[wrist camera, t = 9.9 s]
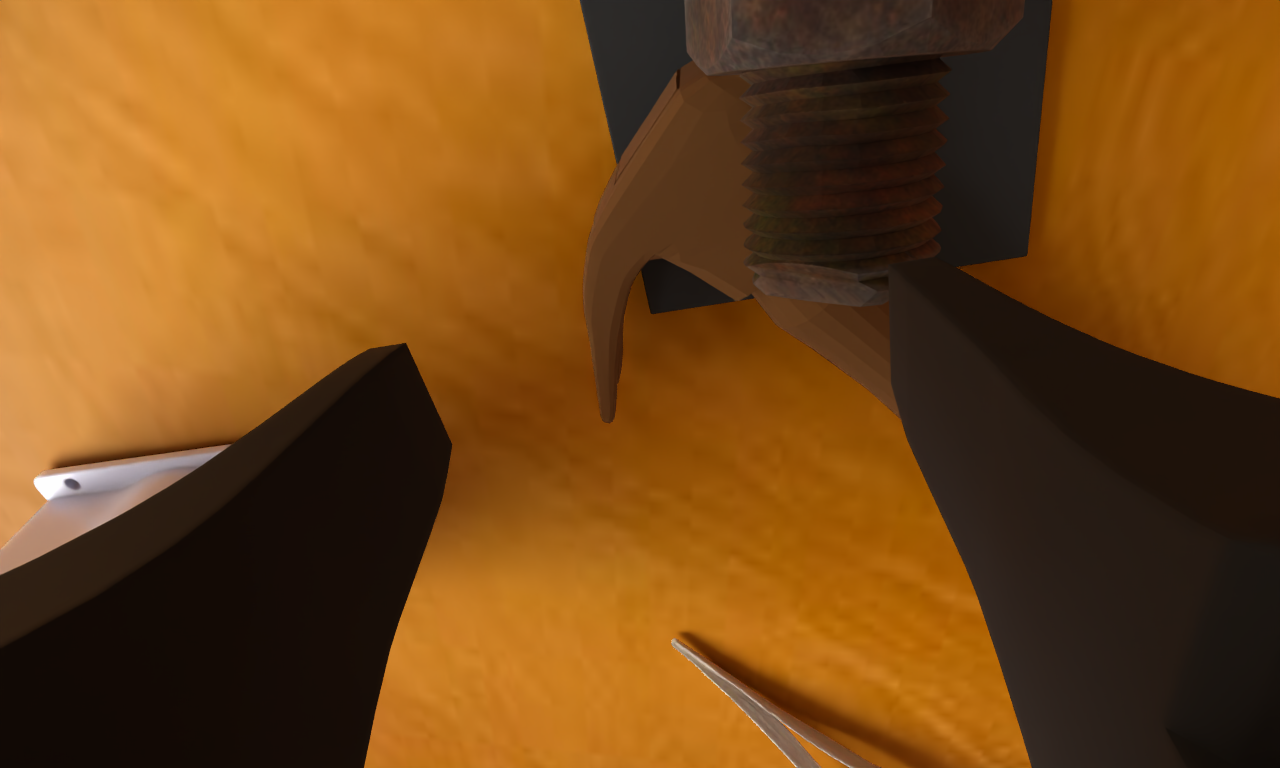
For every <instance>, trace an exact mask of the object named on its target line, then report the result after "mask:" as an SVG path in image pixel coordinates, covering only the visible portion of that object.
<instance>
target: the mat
mask: <svg viewBox="0 0 1280 768" xmlns="http://www.w3.org/2000/svg"><path fill="white" fill-rule="evenodd" d="M580 3H581V8H582V12H583V17H584V21H585V25H586V30H587V34H588V39H589V43H590V47H591V52H592V56H593V61H594V65H595V69H596V74H597V78H598V83H599V87H600V91H601V96H602V100H603V105H604V109H605V113H606V118H607V122H608V127H609V131H610V136H611V140H612V144H613V149H614V153H615V158H616V162H617V164H618V163H619V161H620V159H621V156H622V154H623V153H624V151H625V150H626V148H627V147H628V145H629V144H630V142H631V140H632V139H633V137H634V136H635V134H636V133H637V131H638V130H639V128H640V126H641V125H642V123H643V122H644V120H645V119H646V118H647V116H648V115H649V113H650V112H651V110H652V108H653V107H654V105H655V103H656V102H657V100H658V99H659V97H660V96H661V94H662V92H663V91H664V89H665V88H666V86H667V85H668V83H669V82H670V80H671V79H672V77H673V75H674V74H675V72H676V71H677V69H679V70H680V68H681V67H683V66H684V65H686V64H688V63H689V62H691V61H693V60H692V58H691V57H690V56H689V54H688V53H687V45H686V25H685V4H684V0H580ZM1051 10H1052V0H1025V4H1024V15H1023V18H1022V19H1021V20H1020V21H1019V22H1018V23H1017V24H1016V25H1015V26H1014V27H1013V29H1012V30H1011V31H1010V32H1009V33H1008V34H1007V35H1006V36H1005V37H1004V38H1003V39H1002V40H1001V41H1000V42H999V43H998V44H997V45H996V46H995V47H994V48H993V49H992V50H991V51H986V52H980V53H972V54H964V55H956V56H947V57H940V59H941V60H942V61H943V62H944V63H945V64H946V65H948V66H949V67H950V68H951V69H952V70H951V71H950V72H949V73H947V74H946V75H945V76H944V77H942V78H941V79H940V80H939V81H938V82H939V83H940V84H941V85H942V86H943V87H944V88H945V89H946V90H947V91H948V92H949V93H951V94H950V95H949V96H948V97H946V98H945V99H944V100H943V101H941V102H940V103H939V104H937V106H938V107H939V108H940V109H941V110H942V111H943V112H944V113H945V114H946V115H947V116H948V117H949V118H950V119H948V120H947V121H945V122H944V123H943V124H941V125H940V126H939V127H937V128H936V130H938V131H939V132H940V133H941V134H942V135H943V136H944V137H945V138H946V139H947V142H946V143H945V144H944V145H943V146H942V147H940V148H939V149H938V150H936V151H935V153H936V154H937V155H938V156H939V157H940V158H941V159H942V160H943V162H944V163H945V164H946V165H945V166H944V167H943V168H941V169H940V170H938V171H937V172H936V173H934V175H935V176H936V177H937V178H938V179H939V180H940V181H941V183H942V184H943V185H944V188H943V189H941V190H940V191H938V192H937V193H935V194H934V195H932V196H933V197H934V198H935V199H936V200H937V201H938V202H939V203H941V204H942V205H943V207H942V209H941V212H940V213H939V214H937V215H935V216H934V217H932V218H933V219H934V220H935V221H936V222H937V223H938V225H939V226H940V228H941V230H942V231H941V232H939V233H938V234H937V235H936V236H935V237H933V238H932V239H934V240H935V241H936V242H937V243H939V245H940V247H941V249H940V252H939V253H938V254H937V255H936V256H934V257H936V258H938V259H940V260H942V261H944V262H946V263H948V264H950V265H952V266H954V267H959V266H966V265H972V264H979V263H985V262H992V261H998V260H1005V259H1011V258H1018V257H1024V256H1027V253H1028V243H1029V233H1030V223H1031V213H1032V202H1033V192H1034V182H1035V172H1036V162H1037V152H1038V142H1039V131H1040V121H1041V111H1042V101H1043V91H1044V81H1045V71H1046V60H1047V50H1048V40H1049V30H1050V20H1051ZM641 272H642V277H643V281H644V285H645V290H646V294H647V299H648V303H649V307H650V312H651V314H656V313H662V312H669V311H675V310H682V309H688V308H695V307H701V306H708V305H714V304H721V303H727V302H733V301H736V300H734V299H732V298H731V297H729V296H728V295H726V294H724V293H723V292H721V291H720V290H718V289H716V288H715V287H713V286H712V285H710V284H708V283H707V282H705V281H704V280H702V279H700V278H699V277H697V276H695V275H694V274H692V273H691V272H689V271H687V270H685V269H683V268H681V267H679V266H677V265H675V264H673V263H671V262H669V261H667V260H665V259H664V258H660V259H654V260H649V261H648V262H647V263H646V264H645V265H644V267H643V268H642V269H641ZM753 298H755V297H754V296H753V295H752V294H750V295H749V296H747V297H745V298H743V299H741V300H746V299H753ZM739 301H740V300H739Z"/></svg>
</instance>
